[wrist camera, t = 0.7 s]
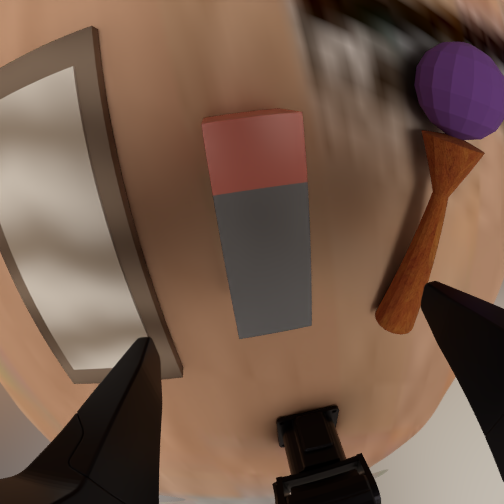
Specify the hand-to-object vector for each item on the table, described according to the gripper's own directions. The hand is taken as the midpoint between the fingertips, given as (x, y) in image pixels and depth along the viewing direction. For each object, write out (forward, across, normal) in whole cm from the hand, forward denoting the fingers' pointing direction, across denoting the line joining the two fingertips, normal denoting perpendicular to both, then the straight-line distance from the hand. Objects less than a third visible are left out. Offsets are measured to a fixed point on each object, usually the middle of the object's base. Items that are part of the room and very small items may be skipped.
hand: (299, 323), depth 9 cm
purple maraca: (+10, -11, 0) cm, 15 cm away
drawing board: (+10, +12, 0) cm, 16 cm away
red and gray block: (+10, 0, 0) cm, 10 cm away
